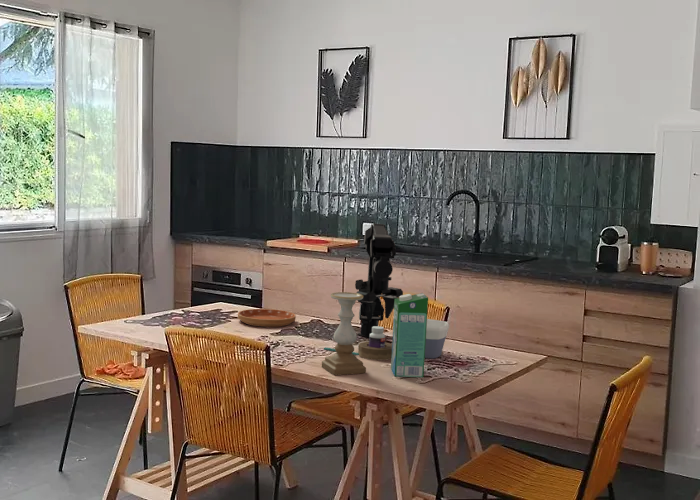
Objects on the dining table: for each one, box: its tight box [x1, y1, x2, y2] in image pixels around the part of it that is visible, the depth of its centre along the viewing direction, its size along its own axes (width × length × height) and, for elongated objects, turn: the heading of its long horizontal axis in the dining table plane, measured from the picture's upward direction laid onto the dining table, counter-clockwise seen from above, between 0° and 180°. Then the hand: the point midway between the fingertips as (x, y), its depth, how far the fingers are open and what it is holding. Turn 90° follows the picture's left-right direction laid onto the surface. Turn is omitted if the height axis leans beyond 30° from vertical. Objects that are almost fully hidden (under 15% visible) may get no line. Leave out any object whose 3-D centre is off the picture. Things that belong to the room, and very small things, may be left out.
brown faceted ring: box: [357, 340, 392, 361], centre depth 274 cm, size 12×12×4 cm
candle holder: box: [321, 291, 367, 376], centre depth 252 cm, size 11×11×24 cm
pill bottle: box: [368, 325, 386, 348], centre depth 274 cm, size 5×5×10 cm
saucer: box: [237, 308, 297, 328], centre depth 321 cm, size 23×23×4 cm
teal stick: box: [323, 347, 359, 356], centre depth 276 cm, size 14×1×1 cm, turn 63°
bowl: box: [425, 318, 450, 360], centre depth 279 cm, size 15×15×11 cm
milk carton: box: [390, 292, 429, 378], centre depth 252 cm, size 9×9×25 cm
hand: (378, 319), depth 273 cm, fingers open, 9 cm apart
